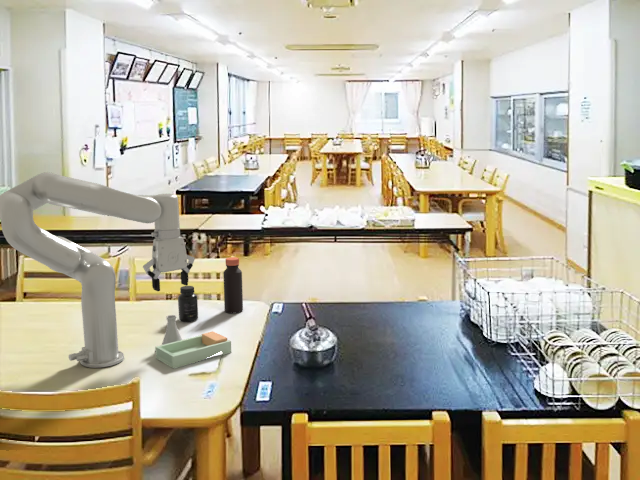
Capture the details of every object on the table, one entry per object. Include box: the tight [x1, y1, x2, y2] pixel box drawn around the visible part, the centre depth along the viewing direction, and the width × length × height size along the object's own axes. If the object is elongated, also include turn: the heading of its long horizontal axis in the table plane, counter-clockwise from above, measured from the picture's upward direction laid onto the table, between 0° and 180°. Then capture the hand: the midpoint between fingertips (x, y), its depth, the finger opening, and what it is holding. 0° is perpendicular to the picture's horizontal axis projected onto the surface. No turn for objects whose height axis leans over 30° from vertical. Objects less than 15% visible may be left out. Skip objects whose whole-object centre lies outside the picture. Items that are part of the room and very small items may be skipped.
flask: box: [161, 314, 183, 345], centre depth 217 cm, size 7×7×10 cm
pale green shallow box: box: [155, 334, 232, 369], centre depth 210 cm, size 20×11×4 cm, turn 131°
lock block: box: [201, 330, 228, 346], centre depth 214 cm, size 4×8×3 cm, turn 41°
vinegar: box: [223, 256, 244, 314], centre depth 253 cm, size 7×7×20 cm
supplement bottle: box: [177, 285, 199, 323], centre depth 244 cm, size 7×7×12 cm
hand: (170, 287), depth 215 cm, fingers open, 9 cm apart
